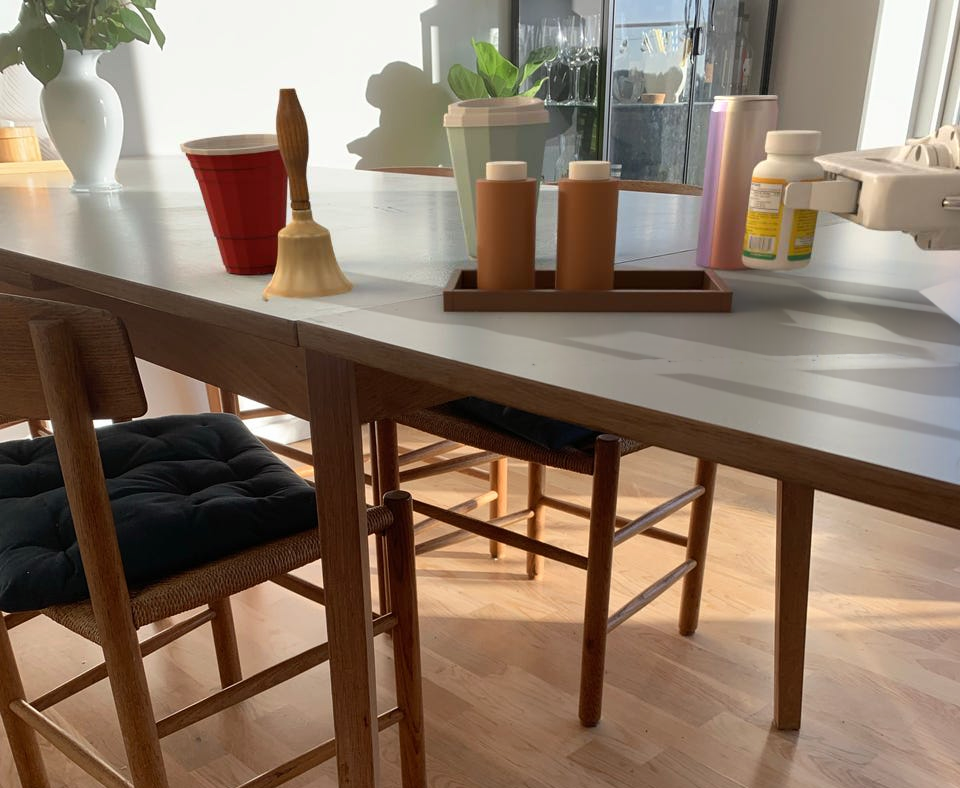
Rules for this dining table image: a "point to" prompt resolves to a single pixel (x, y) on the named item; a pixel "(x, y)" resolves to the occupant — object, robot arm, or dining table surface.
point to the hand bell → (301, 219)
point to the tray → (597, 293)
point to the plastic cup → (242, 197)
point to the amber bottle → (586, 227)
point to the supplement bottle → (771, 226)
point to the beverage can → (731, 176)
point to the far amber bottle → (506, 227)
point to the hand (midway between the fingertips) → (774, 191)
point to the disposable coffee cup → (492, 146)
